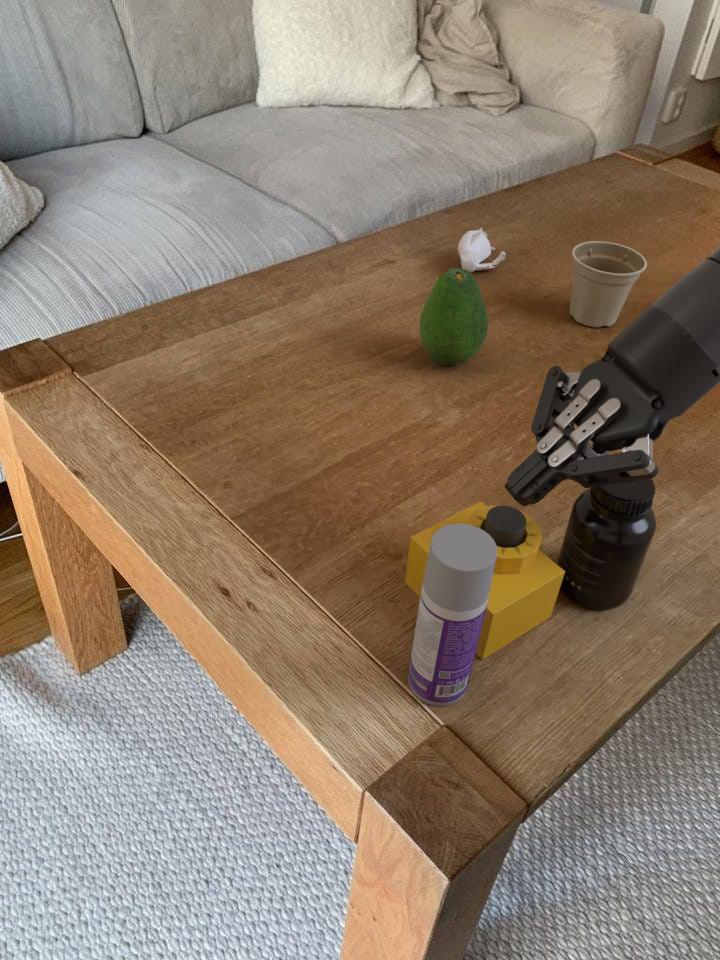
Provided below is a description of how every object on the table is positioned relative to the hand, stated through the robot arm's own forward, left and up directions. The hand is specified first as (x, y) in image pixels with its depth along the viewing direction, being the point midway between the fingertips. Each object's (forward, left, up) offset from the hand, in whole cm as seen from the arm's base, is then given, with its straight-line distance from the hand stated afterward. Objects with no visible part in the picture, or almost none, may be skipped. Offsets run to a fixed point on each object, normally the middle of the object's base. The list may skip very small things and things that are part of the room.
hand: (514, 497), depth 64 cm
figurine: (+47, -42, -11) cm, 64 cm away
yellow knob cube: (0, +2, -11) cm, 11 cm away
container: (-4, +10, -11) cm, 16 cm away
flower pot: (+28, -45, -11) cm, 54 cm away
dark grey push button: (0, 0, -4) cm, 4 cm away
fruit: (+30, -21, -11) cm, 38 cm away
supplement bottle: (-4, -8, -11) cm, 15 cm away
